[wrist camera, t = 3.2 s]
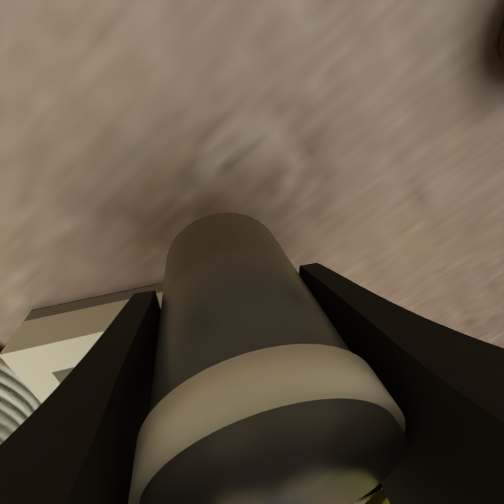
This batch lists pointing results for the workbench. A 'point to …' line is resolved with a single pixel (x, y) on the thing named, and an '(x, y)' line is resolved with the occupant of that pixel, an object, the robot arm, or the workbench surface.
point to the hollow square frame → (62, 338)
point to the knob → (256, 384)
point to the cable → (13, 401)
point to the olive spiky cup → (502, 43)
